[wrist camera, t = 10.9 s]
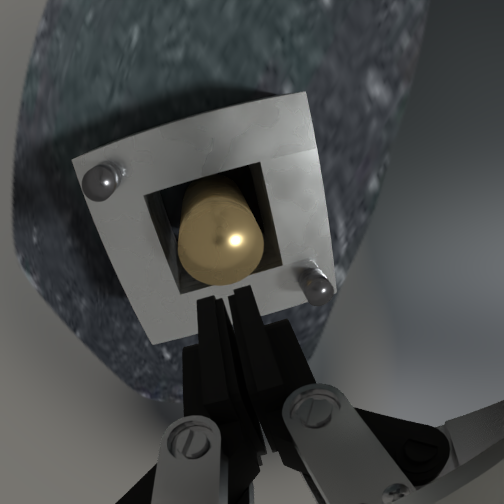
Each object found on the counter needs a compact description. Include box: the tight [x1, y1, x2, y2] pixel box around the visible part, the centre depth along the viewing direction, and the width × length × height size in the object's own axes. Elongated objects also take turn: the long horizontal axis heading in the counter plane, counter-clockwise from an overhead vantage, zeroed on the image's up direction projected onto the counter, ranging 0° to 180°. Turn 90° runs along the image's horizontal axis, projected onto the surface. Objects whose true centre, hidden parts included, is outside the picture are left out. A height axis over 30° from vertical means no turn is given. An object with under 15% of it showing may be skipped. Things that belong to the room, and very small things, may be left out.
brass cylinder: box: [178, 174, 264, 286], centre depth 18 cm, size 4×4×7 cm
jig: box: [72, 92, 337, 345], centre depth 18 cm, size 12×12×7 cm
